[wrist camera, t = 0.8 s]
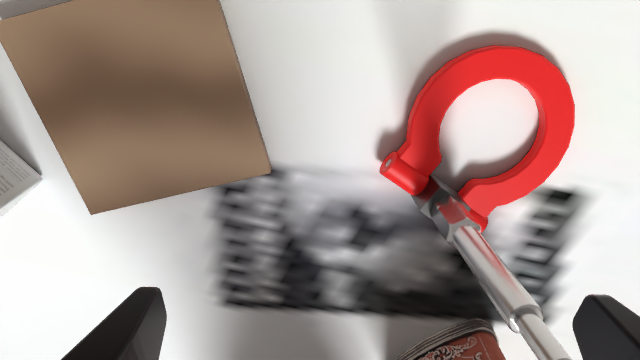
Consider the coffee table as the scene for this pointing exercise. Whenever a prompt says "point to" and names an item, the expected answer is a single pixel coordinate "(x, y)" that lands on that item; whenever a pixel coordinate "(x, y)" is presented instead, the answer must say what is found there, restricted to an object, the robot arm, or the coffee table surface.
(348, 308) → the coffee table surface
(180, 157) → the walnut plate
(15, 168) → the supplement box
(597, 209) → the coffee table surface
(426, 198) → the tow hook
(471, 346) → the red-brown boxy piece
